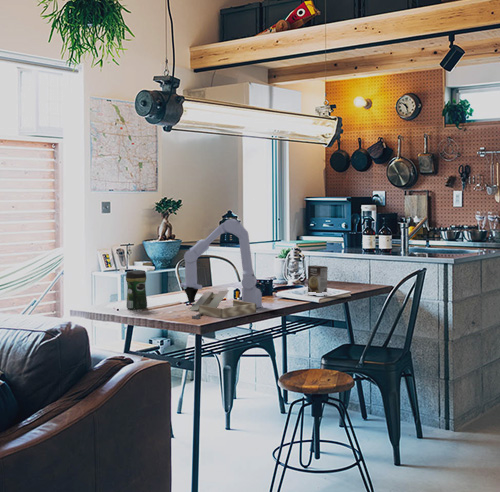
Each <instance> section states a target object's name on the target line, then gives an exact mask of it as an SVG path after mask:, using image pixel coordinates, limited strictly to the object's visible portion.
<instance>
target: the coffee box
mask: <svg viewBox="0 0 500 492" xmlns="http://www.w3.org/2000/svg"><path fill="white" fill-rule="evenodd" d="M308 292H316V293H322V292H327V293H328V266H323V265H308V266H307V293H308Z"/></svg>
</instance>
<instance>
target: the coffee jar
mask: <svg viewBox="0 0 500 492" xmlns="http://www.w3.org/2000/svg"><path fill="white" fill-rule="evenodd" d="M125 280H126V281H125V282H126V284H127V289H126V290H127V291H126V293H127V295H126V308H127V309H128V310H142V309H146V308H148V299H147V289H146V282H147V273H146V270H141V269H135V270H134V269H133V270H130V271H129V270H127V271H126V273H125Z"/></svg>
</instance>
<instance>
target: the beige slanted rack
mask: <svg viewBox="0 0 500 492" xmlns="http://www.w3.org/2000/svg"><path fill="white" fill-rule="evenodd" d="M229 291H230V289H229V290H228V289H227V290H219V291H218V293H214V291H205V292H204V293H203V294H202V295H201V296H200V297H199V299H198V300H197V301H196V302H194V304H193V305H192V306H191V307H190V309H189V310H188V311H189V312H190V311H197V312H199V305H203V306H209V307H215V308H219V306H220V304H221V302H222V301H223V299H224V298H225V297H226V296H227V294H228V293H229Z"/></svg>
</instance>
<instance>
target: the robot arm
mask: <svg viewBox="0 0 500 492" xmlns="http://www.w3.org/2000/svg"><path fill="white" fill-rule="evenodd" d="M227 233H229V234H233V235H234V236H235V237H237V238H238V242H239V249H240V251H239V252H240V258H241V266H242V280H241V286H242V288H241V301H243V302H249V303H256V309H257V308H263V306H264V305H262V304H263V299H262V298H263V296H262V295H263V293H262V292H261V291H262V290H261V289H259V288H257V286H256V285H257V281H258V280H257V277H256V276H255V271H254V268H253V261H252V252H251V243H250V236H249V232H248V230H247V229H246V228H245V227H244V225H242V223H241V222H240V221H239V220H237V219H234V218H230V219H229V218H228V219H226V220H225V221H224V222H223V223H221V224H219V225H218V226H217V227H216V228H215V229H214V230H213V231H212V232H211V233H210V234H209V235H208V236H207V237H206V238H204V239H200V240H197V241H196V242H195V243H196V244H194V245H193V246H192V247H189V250H186V252H185V253H184V255H183V259H184V262H185V263H184V264H185V266H184V275H185V276H184V277H185V278H184V282H180V283H179V284H180V287H181V288H184V289H183V290H184V292H185V294H186V298H187V301H188V303H189V304H193V303H194V304H195V300H196V295H197V293H198V292H199V290H203V285H202V284H198V266H197V265H198V264H197V260H198V258H199V257H201V256H202V255H203V254H204V253H205V252H206V251H207V250H208V249H209V248H210V244H212V242H214V241H215V240H216V239H217V238H218V237H219V236H221V235H222V234H227Z"/></svg>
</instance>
